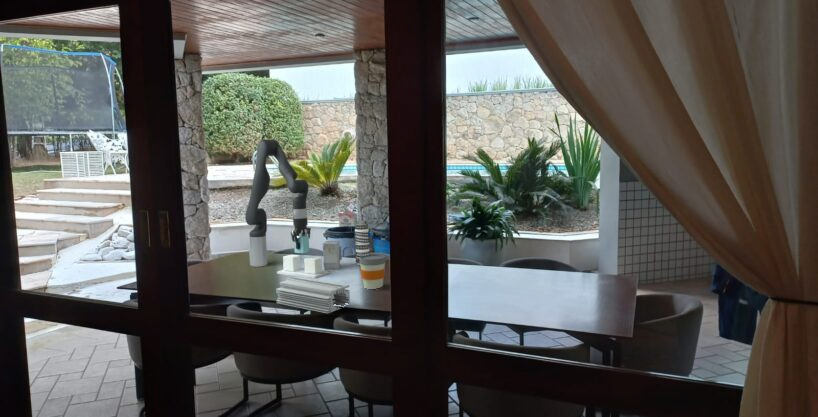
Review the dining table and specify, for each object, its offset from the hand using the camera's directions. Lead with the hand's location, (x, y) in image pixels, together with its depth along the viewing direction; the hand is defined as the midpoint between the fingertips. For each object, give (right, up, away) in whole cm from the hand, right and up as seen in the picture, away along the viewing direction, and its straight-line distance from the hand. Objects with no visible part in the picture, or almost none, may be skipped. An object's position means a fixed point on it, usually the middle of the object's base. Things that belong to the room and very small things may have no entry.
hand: (301, 248), depth 303 cm
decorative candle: (+31, -11, +23) cm, 40 cm away
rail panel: (0, -14, +2) cm, 14 cm away
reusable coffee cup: (+41, -17, -31) cm, 54 cm away
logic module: (0, -2, 0) cm, 2 cm away
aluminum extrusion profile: (+16, -21, -56) cm, 62 cm away
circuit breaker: (+15, -12, +15) cm, 24 cm away
